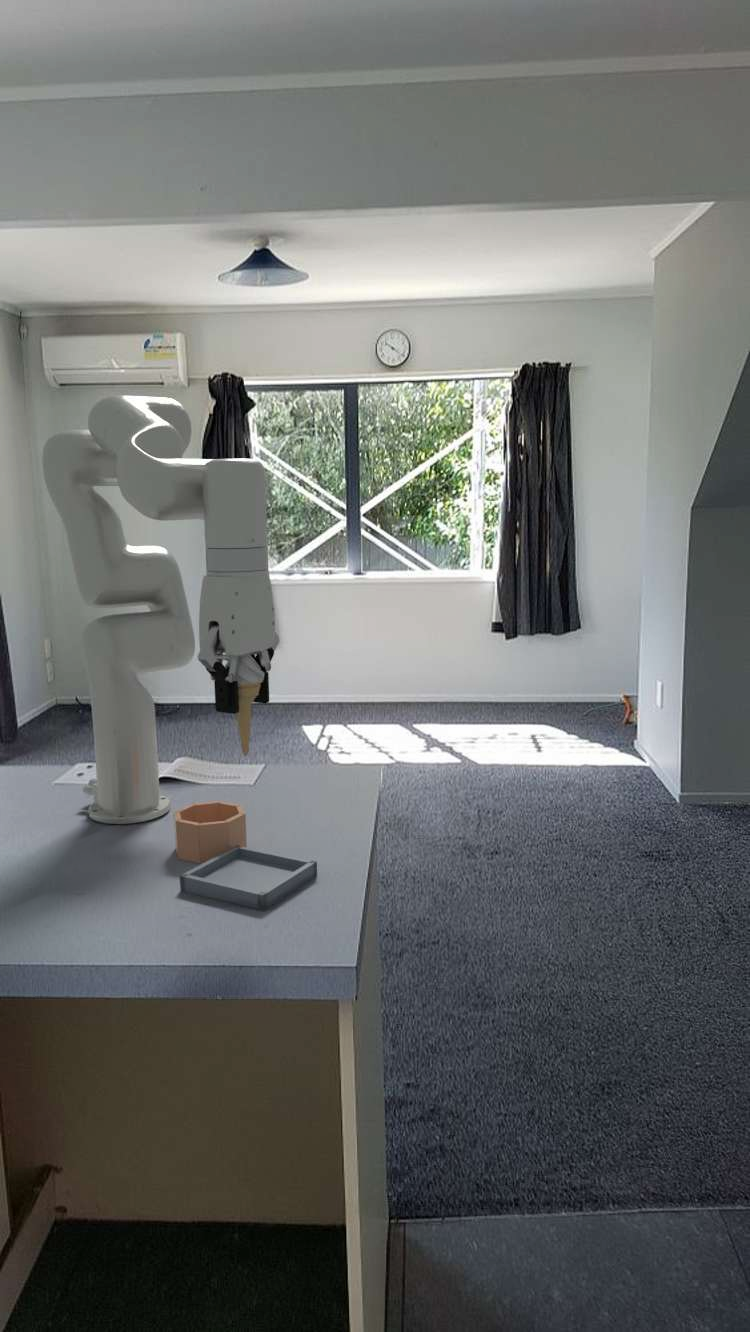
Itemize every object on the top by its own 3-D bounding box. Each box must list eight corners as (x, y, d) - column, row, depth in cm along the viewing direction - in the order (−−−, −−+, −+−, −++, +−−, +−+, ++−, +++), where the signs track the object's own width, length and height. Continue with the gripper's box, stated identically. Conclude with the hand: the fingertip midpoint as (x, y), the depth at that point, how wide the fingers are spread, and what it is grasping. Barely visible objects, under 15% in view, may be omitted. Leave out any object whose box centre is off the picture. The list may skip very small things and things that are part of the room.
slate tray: (180, 890, 122) (179, 875, 122) (237, 858, 132) (237, 845, 132) (263, 910, 116) (263, 895, 115) (317, 875, 126) (316, 861, 126)
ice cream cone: (259, 762, 118) (254, 642, 115) (216, 760, 119) (210, 641, 116) (273, 750, 123) (269, 635, 120) (231, 748, 124) (226, 634, 121)
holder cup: (162, 855, 134) (160, 817, 133) (206, 833, 142) (204, 798, 141) (216, 867, 129) (214, 828, 128) (258, 844, 138) (257, 807, 137)
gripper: (254, 556, 126) (259, 691, 129) (166, 566, 111) (174, 718, 114) (302, 558, 122) (305, 696, 125) (217, 568, 107) (224, 725, 111)
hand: (242, 705), depth 120 cm, fingers closed on ice cream cone, 5 cm apart
